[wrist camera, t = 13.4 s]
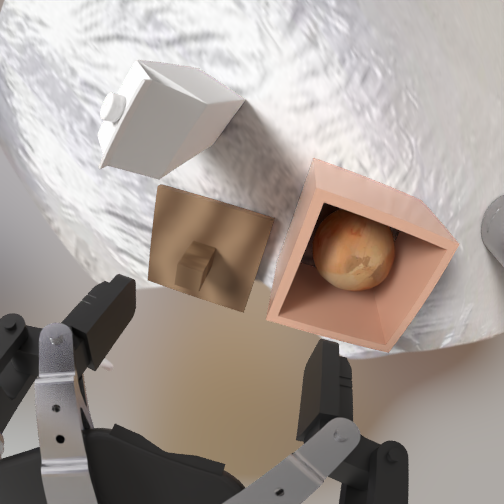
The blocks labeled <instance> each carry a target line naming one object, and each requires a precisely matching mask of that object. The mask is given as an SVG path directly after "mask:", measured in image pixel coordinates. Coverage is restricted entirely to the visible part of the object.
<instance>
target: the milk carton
mask: <svg viewBox="0 0 504 504" xmlns="http://www.w3.org/2000/svg"><path fill="white" fill-rule="evenodd" d="M244 101H245V99H244V98H243V97H242V96H240V95H239V94H237V93H236V92H234V91H233V90H231V89H230V88H228V87H227V86H225V85H224V84H222V83H221V82H219V81H218V80H216V79H215V78H213V77H211V76H210V75H208V74H207V73H205V72H204V71H202V70H200V69H199V68H194V67H188V66H182V65H175V64H168V63H161V62H153V61H143V60H136V61H135V63H134V64H133V66H132V68H131V69H130V71H129V73H128V74H127V76H126V78H125V80H124V82H123V84H122V85H121V87H120V89H119V91H118V93H117V94H116V93H113V92H111V93H109V94H108V95H107V97H106V98H105V100H104V102H103V104H102V107H101V112H100V116H101V119H102V120H104V121H103V123H102V125H101V128H100V130H99V132H98V139H99V142H100V146H101V149H102V153H103V157H102V159H101V161H100V164H99V166H98V168H99V169H102V168H104V167H106V166H111V167H115V168H119V169H122V170H126V171H130V172H134V173H137V174H141V175H145V176H149V177H152V178H156V179H161V178H162V177H164V176H165V175H167V174H168V173H170V172H171V171H173V170H174V169H176V168H177V167H179V166H180V165H182V164H183V163H185V162H186V161H188V160H190V159H191V158H193V157H194V156H196V155H197V154H199V153H201V152H202V151H204V150H205V149H207V148H209V147H210V146H212V145H213V144H214V143H215V141H216V140H217V138H218V137H219V136H220V134H221V133H222V131H223V130H224V129H225V127H226V126H227V124H228V123H229V122H230V120H231V119H232V118H233V116H234V115H235V114H236V112H237V111H238V109H239V108H240V107H241V105H242V104H243V103H244Z"/></svg>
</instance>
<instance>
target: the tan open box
mask: <svg viewBox="0 0 504 504" xmlns="http://www.w3.org/2000/svg"><path fill="white" fill-rule="evenodd" d="M323 203H327V204H330V205H333V206H336V207H339V208H342V209H344V210H347V211H350V212H353V213H356V214H358V215H361V216H364V217H366V218H369V219H372V220H374V221H377V222H380V223H382V224H385V225H388V226H390V227H393V228H395V229H398V230H400V232H399V234H398V236H397V238H396V240H395V242H394V245H395V254H394V260H393V263H392V266H391V269H390V271H389V273H388V275H387V276H386V278H385V279H384V280H383V281H382V282H381V283H379V284H378V285H376V286H375V287H372V288H370V289H366V290H362V291H348V290H343V289H339V288H336V287H334V286H333V285H332V284H331V283H329V282H328V281H327V280H326V279H324V278H323V277H322V276H321V274H320V273H319V272H318V270H317V268H316V267H313V266H310V265H307V264H304V263H301V262H300V261H301V259H302V257H303V254H304V252H305V249H306V247H307V244H308V242H309V239H310V237H311V234H312V231H313V229H314V226H315V224H316V221H317V219H318V216H319V214H320V211H321V208H322V206H323ZM458 246H459V243H458V242H457V241H456V240H455V238H454V237H453V236H452V235H451V233H450V232H449V231H448V230H447V229H446V227H445V226H444V225H443V224H442V223H441V222H440V220H439V219H438V218H437V217H436V216H435V215H434V214H433V212H432V211H431V210H430V209H429V208H428V207H427V206H426V205H425V204H424V202H423V201H422V200H420V199H417V198H415V197H413V196H410V195H408V194H406V193H404V192H401V191H399V190H397V189H394V188H392V187H389V186H387V185H385V184H382V183H380V182H377V181H375V180H372V179H370V178H367V177H365V176H362V175H359V174H357V173H354V172H351V171H349V170H346V169H343V168H341V167H338V166H335V165H332V164H329V163H327V162H324V161H321V160H318V159H315V158H313V160H312V163H311V166H310V169H309V172H308V175H307V178H306V181H305V184H304V187H303V189H302V192H301V195H300V198H299V201H298V204H297V207H296V210H295V212H294V215H293V218H292V221H291V224H290V227H289V229H288V232H287V235H286V238H285V241H284V243H283V246H282V249H281V252H280V255H279V257H278V260H277V264H276V269H275V275H274V280H273V285H272V290H271V296H270V301H269V306H268V311H267V316H266V320H268V321H272V322H275V323H278V324H282V325H285V326H289V327H292V328H296V329H299V330H303V331H306V332H310V333H313V334H317V335H321V336H324V337H328V338H332V339H336V340H339V341H343V342H347V343H351V344H355V345H359V346H363V347H367V348H371V349H375V350H380V351H384V352H388V353H389V351H390V350H391V349H392V347H393V346H394V345H395V343H396V342H397V341H398V339H399V338H400V337H401V335H402V334H403V333H404V331H405V330H406V328H407V327H408V326H409V324H410V323H411V321H412V320H413V319H414V317H415V316H416V314H417V313H418V311H419V310H420V308H421V307H422V305H423V304H424V302H425V301H426V299H427V298H428V296H429V295H430V293H431V292H432V290H433V288H434V287H435V285H436V284H437V282H438V280H439V279H440V277H441V275H442V274H443V272H444V270H445V269H446V267H447V265H448V264H449V262H450V260H451V258H452V257H453V255H454V253H455V251H456V249H457V248H458Z"/></svg>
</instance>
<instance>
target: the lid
mask: <svg viewBox="0 0 504 504" xmlns="http://www.w3.org/2000/svg"><path fill="white" fill-rule="evenodd" d="M274 219H275V218H273V217H270V216H266V215H263V214H260V213H257V212H254V211H250V210H247V209H244V208H241V207H237V206H234V205H231V204H227V203H224V202H221V201H217V200H214V199H211V198H207V197H204V196H200V195H197V194H194V193H190V192H187V191H183V190H180V189H176V188H173V187H169V186H166V185H162V184H161V185H159V186H158V188H157V195H156V203H155V211H154V219H153V228H152V238H151V248H150V259H149V272H148V280H149V281H151V282H154V283H157V284H160V285H163V286H165V287H168V288H171V289H174V290H177V291H180V292H183V293H186V294H188V295H192V296H194V297H197V298H200V299H203V300H206V301H209V302H212V303H215V304H218V305H222V306H224V307H228V308H231V309H234V310H237V311H240V312H244V310H245V307H246V304H247V301H248V298H249V295H250V292H251V289H252V286H253V283H254V280H255V277H256V274H257V271H258V268H259V265H260V262H261V259H262V256H263V253H264V250H265V247H266V244H267V241H268V238H269V235H270V232H271V229H272V226H273V223H274Z"/></svg>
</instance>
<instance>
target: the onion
mask: <svg viewBox="0 0 504 504" xmlns="http://www.w3.org/2000/svg"><path fill="white" fill-rule="evenodd" d="M312 252H313V259H314V263H315V266H316V268H317V270H318V272H319V273H320V274H321V276H322V277H323V278H324V279H326V280H327V281H328V282H329V283H331V284H332V285H333V286H334V287H336V288H339V289H343V290H348V291H362V290H366V289H370V288H372V287H375V286H376V285H378V284H379V283H381V282H382V281H383V280H384V279H385V278H386V276H387V275H388V273H389V271H390V269H391V266H392V263H393V260H394V254H395V245H394V239H393V235H392V232H391V230H390V228H389V226H388V225H385V224H382V223H380V222H377V221H374V220H372V219H369V218H366V217H364V216H361V215H358V214H356V213H353V212H350V211H347V210H344V209H340V210H337V211H335V212H333V213H331V214H330V215H329V216H327V217H326V218H325V219H324V220H323V221H322V222H321V224H320V225H319V227H318V228H317V230H316V232H315V236H314V239H313V245H312Z"/></svg>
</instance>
